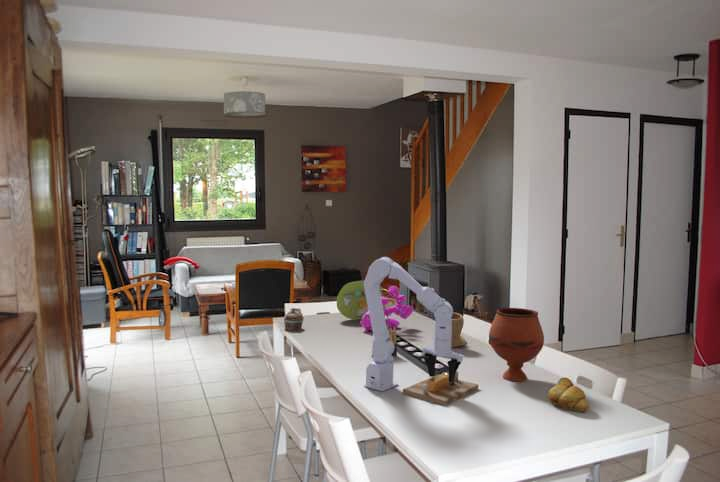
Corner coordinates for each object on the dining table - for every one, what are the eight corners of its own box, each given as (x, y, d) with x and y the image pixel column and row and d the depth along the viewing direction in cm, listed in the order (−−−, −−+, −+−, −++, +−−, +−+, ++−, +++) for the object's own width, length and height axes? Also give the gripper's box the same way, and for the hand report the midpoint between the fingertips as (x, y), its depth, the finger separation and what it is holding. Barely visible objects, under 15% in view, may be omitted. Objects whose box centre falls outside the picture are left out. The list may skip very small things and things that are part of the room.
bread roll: (595, 412, 172) (597, 387, 172) (571, 416, 168) (572, 390, 168) (564, 398, 184) (566, 374, 183) (541, 402, 180) (542, 378, 179)
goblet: (481, 370, 213) (483, 305, 211) (530, 370, 214) (533, 306, 213) (496, 386, 194) (499, 315, 192) (550, 386, 195) (553, 316, 194)
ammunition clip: (394, 354, 233) (395, 326, 232) (396, 355, 231) (397, 327, 230) (371, 357, 228) (372, 328, 227) (373, 358, 227) (374, 328, 226)
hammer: (436, 393, 182) (436, 382, 181) (425, 390, 184) (425, 379, 184) (457, 383, 192) (457, 373, 192) (446, 380, 195) (446, 370, 194)
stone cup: (446, 351, 239) (448, 317, 238) (430, 345, 250) (431, 312, 249) (474, 348, 247) (475, 314, 246) (457, 341, 257) (458, 309, 256)
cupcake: (285, 326, 281) (285, 306, 280) (304, 326, 280) (304, 307, 280) (281, 330, 271) (282, 310, 270) (301, 331, 271) (302, 310, 270)
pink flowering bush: (381, 263, 303) (415, 281, 272) (388, 311, 312) (422, 333, 281) (331, 279, 291) (361, 300, 261) (339, 328, 300) (369, 353, 270)
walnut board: (444, 405, 175) (445, 391, 174) (402, 393, 185) (403, 380, 184) (478, 388, 191) (478, 375, 191) (438, 378, 202) (438, 366, 201)
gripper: (468, 340, 185) (466, 380, 186) (430, 332, 195) (429, 371, 195) (457, 344, 180) (455, 385, 181) (419, 336, 189) (418, 375, 190)
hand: (441, 378), depth 188 cm, fingers open, 7 cm apart
